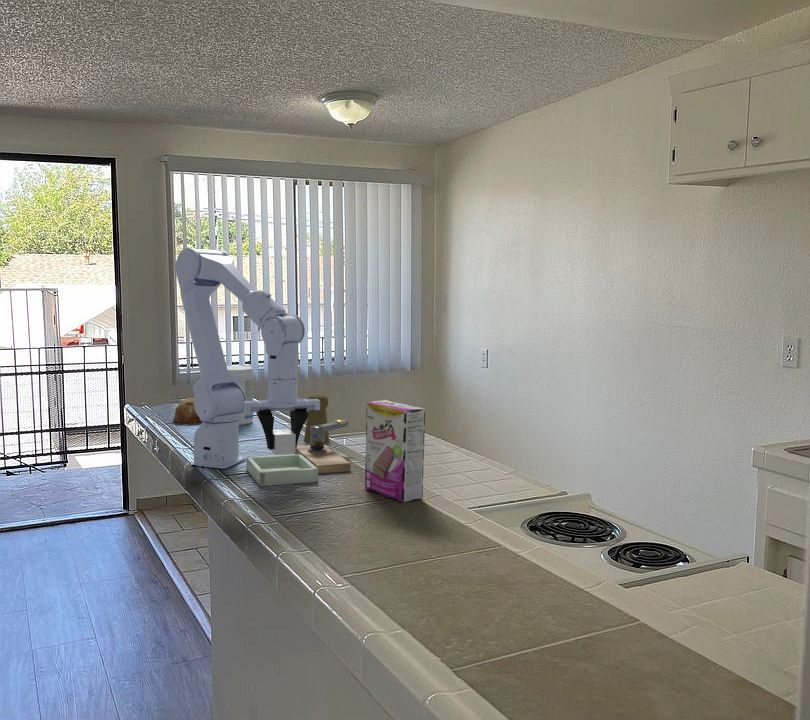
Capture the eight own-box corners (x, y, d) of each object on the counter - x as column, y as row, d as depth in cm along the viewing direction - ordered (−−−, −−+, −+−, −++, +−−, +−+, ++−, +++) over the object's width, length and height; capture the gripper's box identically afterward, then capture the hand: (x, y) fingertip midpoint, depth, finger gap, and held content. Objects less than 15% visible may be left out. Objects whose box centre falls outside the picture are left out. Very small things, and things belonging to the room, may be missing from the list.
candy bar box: (362, 489, 139) (364, 401, 137) (383, 485, 142) (386, 399, 141) (402, 504, 131) (405, 410, 129) (424, 499, 134) (427, 407, 132)
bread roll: (178, 431, 205) (164, 405, 203) (212, 413, 208) (200, 387, 206) (184, 438, 196) (170, 411, 194) (220, 419, 199) (207, 393, 197)
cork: (324, 443, 177) (325, 397, 176) (300, 441, 178) (301, 395, 177) (332, 438, 183) (333, 393, 182) (308, 436, 184) (309, 392, 183)
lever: (318, 450, 160) (318, 427, 159) (307, 448, 161) (307, 426, 161) (350, 441, 169) (350, 420, 169) (339, 439, 171) (339, 418, 171)
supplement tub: (242, 418, 206) (243, 364, 205) (259, 424, 199) (260, 368, 197) (209, 421, 200) (209, 366, 199) (225, 427, 193) (226, 370, 191)
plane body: (293, 453, 166) (293, 445, 166) (324, 451, 169) (324, 443, 169) (316, 473, 150) (316, 463, 149) (350, 470, 152) (350, 461, 152)
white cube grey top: (269, 449, 148) (269, 429, 148) (289, 447, 150) (289, 428, 149) (274, 454, 144) (274, 434, 143) (295, 453, 145) (295, 433, 145)
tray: (246, 469, 151) (246, 457, 151) (300, 465, 155) (300, 453, 155) (260, 486, 139) (260, 473, 139) (318, 481, 143) (318, 468, 143)
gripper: (249, 381, 139) (248, 454, 140) (325, 380, 145) (323, 449, 146) (241, 377, 145) (241, 446, 147) (314, 375, 151) (313, 442, 152)
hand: (281, 447), depth 147 cm, fingers closed on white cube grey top, 4 cm apart
